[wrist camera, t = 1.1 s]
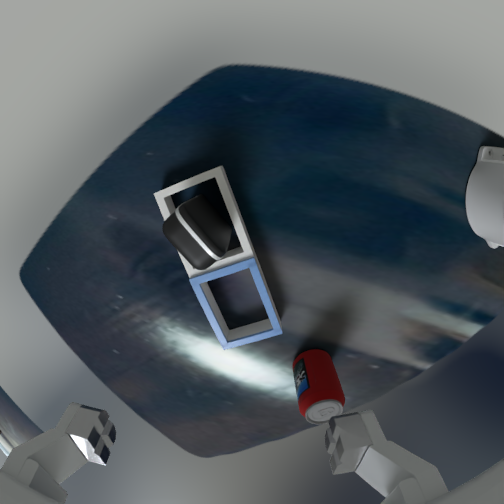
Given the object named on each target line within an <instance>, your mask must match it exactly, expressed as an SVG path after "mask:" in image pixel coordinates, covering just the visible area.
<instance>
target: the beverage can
mask: <svg viewBox="0 0 504 504" xmlns="http://www.w3.org/2000/svg"><path fill="white" fill-rule="evenodd" d="M293 374H294V380H295V387H296V393H297V399H298V404H299V410H300V413H301V414H302V415H303V416H304V417H305V418H306V419H307V421H308V422H310V423H312V424H326V423H329V420H330V418H331V417H332V416H338V415H341V414H342V411H343V406H344V403H345V397H344V394H343V390H342V387H341V384H340V381H339V379H338V376H337V373H336V370H335V367H334V364H333V362H332V359H331V357H330V355H329V354H328V353H327V352H325V351H323V350H319V349H312V350H308V351H305V352H303V353H301V354H300V355H299V356H298V357H297V358H296V359H295V360H294V362H293Z"/></svg>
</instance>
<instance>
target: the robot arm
mask: <svg viewBox="0 0 504 504" xmlns="http://www.w3.org/2000/svg"><path fill="white" fill-rule="evenodd" d="M466 211H467V216H468V220H469V223H470V225H471V227H472V229H473V231H474V232H475V233H476V234H477V235H478V236H480V237H482V238H484V239H485V240H486V241H487V243H488V245H489V246H490V247H491V248H497V247H498V246H499V245H500V246H503V247H504V148H500V147H490V146H481V147H480V149H479V153H478V159H477V163H476V165H475V167H474V169H473V170H472V173H471V175H470V177H469V181H468V184H467V190H466ZM108 418H109V415H108V413H107V411H105V410H101V409H96V408H93V407H89V406H85V405H81V404H78V403H74V402H72V403H71V404H69V406H68V407H67V409H66V411H65V413H64V414H63V416H62V418H61V419H60V421H59V423H58V424H57V426H56V428H55V429H50V430H48V431H46V432H44V433H42V434H41V435H39V436H37V437H35V438H33V439H31V440H29V441H27V442H25V443H23V444H21V445H19V446H17V447H15V448H13V449H12V451H11V453H10V454H9V456H8V458H7V460H6V462H5V463H4V465H3V467H2V468H1V469H0V504H64V503H65V501H66V498H67V495H68V494H67V492H66V491H65V490H64V489H63V488H62V487H61V486H60V485H59V484H60V483H61V482H63V481H64V480H65V479H67V478H68V477H69V476H70V475H72V474H73V473H74V472H75V471H77V470H78V469H79V468H80V467H81V466H83V465H84V464H85V463H87V461H91V462H95V463H99V464H102V465H106V464H107V461H108V458H109V456H110V451H109V447H111V446H112V445H114V442H115V439H116V430H115V426H114V424H113V423H112V422H111V421H109V420H108ZM329 425H330V428H329V429H327V431H326V435H325V444H326V449H327V452H328V453H330V454H331V455H332V456H331V459H330V465H331V469H332V472H333V475H335V474H341V473H347V472H352V471H356V473H357V474H358V475H359V476H360V477H362V478H363V479H364V480H365V481H366V482H367V483H369V484H370V485H371V486H372V487H373V488H375V489H376V490H377V491H379V492H380V493H381V494H382V495H383V496H385V497H386V499H385V500H384V501H383V502H382V503H381V504H504V459H502V460H501V461H499V462H498V463H496V464H495V465H493V466H492V467H491V468H489V469H487V470H486V471H484V472H483V473H481V474H480V475H478V476H476V477H475V478H473V479H471V480H470V481H468V482H466V483H465V484H463V485H461V486H459V487H457V488H455V489H454V490H452V491H450V492H448V489H447V487H446V485H445V483H444V481H443V480H442V477H441V475H440V474H439V471H438V469H437V467H435V466H434V465H432V464H430V463H428V462H426V461H425V460H423V459H421V458H419V457H418V456H416V455H414V454H412V453H410V452H409V451H407V450H405V449H404V448H402V447H400V446H398V445H397V444H395V443H393V442H392V441H387V440H386V438H385V436H384V434H383V432H382V430H381V427H380V426H379V423H378V421H377V419H376V417H375V415H374V412H373V411H372V410H367V411H362V412H355V413H349V414H344V415H338V416H332V417H331V418H330V420H329Z"/></svg>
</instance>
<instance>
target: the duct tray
mask: <svg viewBox="0 0 504 504" xmlns="http://www.w3.org/2000/svg"><path fill="white" fill-rule="evenodd" d="M214 177H215V178H216V181H217V183H218V186H219V189H220V191H221V194H222V196H223V199H224V202H225V204H226V207H227V209H228V212H229V215H230V217H231V220H232V223H233V225H234V228H235V230H236V233H237V236H238V238H239V241H240V243H241V247H238V248H235V249H232V250H230V251H227V252H226V254H225V255H224V256H223V258H221V259H220V260H217V261H216V262H215V263H214V264H213V265H211V266H210V267H209V268H207V269H206V270H197V269H195V268H194V267H193V266H192V265H191V264H190V263H189V262H188V261H187V260H186V259H185V258H184V257H183V256H182V255H181V254H180V252H179V251H178V250H177V251H178V253H179V255H180V257H181V260H182V262H183V264H184V266H185V269H186V271H187V273H188V275H189V277H190V279H189V281H190V283H191V285H192V287H193V289H194V291H195V293H196V295H197V298H198V300H199V302H200V304H201V306H202V308H203V310H204V312H205V314H206V316H207V318H208V320H209V322H210V324H211V326H212V328H213V330H214V332H215V334H216V336H217V338H218V340H219V342H220V344H221V346H222V348H223V349H224V350H225V349H229V348H233V347H237V346H240V345H244V344H248V343H251V342H255V341H259V340H262V339H265V338H269V337H272V336H276V335H279V334H282V326H281V320H280V318H279V315H278V312H277V310H276V307H275V304H274V302H273V299H272V296H271V294H270V291H269V288H268V285H267V283H266V280H265V277H264V275H263V272H262V269H261V267H260V264H259V261H258V259H257V256H256V253H255V251H254V248H253V245H252V243H251V240H250V237H249V235H248V232H247V229H246V227H245V224H244V221H243V219H242V216H241V213H240V211H239V208H238V205H237V203H236V200H235V197H234V195H233V192H232V189H231V187H230V184H229V181H228V179H227V176H226V173H225V171H224V168H223V166H219V167H217V168H214V169H212V170H209V171H206V172H204V173H201V174H199V175H196V176H194V177H192V178H189V179H187V180H184V181H182V182H180V183H177V184H175V185H172V186H170V187H168V188H166V189H163V190H161V191H159V192H157V193H154V195H155V198H156V200H157V203H158V205H159V208H160V210H161V213H162V215H163V218H164V220H166V219H167V218H168V217H169V216H170V215H171V214H172V213H173V212H174V211H175V210H176V208H175V206H174V203H173V201H172V198H171V196H170V195H172V194H174V193H176V192H179V191H181V190H184V189H186V188H188V187H191V186H193V185H196V184H198V183H201V182H203V181H206V180H208V179H211V178H214ZM247 268H250V271H251V273H252V276H253V278H254V281H255V284H256V286H257V289H258V291H259V294H260V296H261V299H262V301H263V304H264V307H265V309H266V312H267V314H268V317H269V319H265V320H262V321H259V322H255V323H252V324H249V325H245V326H242V327H238V328H235V329H231V330H229V329H228V326H227V324H226V322H225V320H224V318H223V316H222V314H221V312H220V310H219V307H218V305H217V303H216V301H215V299H214V297H213V294H212V292H211V290H210V288H209V286H208V283H207V281H210V280H213V279H216V278H219V277H222V276H225V275H228V274H232V273H235V272H238V271H241V270H244V269H247Z"/></svg>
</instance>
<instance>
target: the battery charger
mask: <svg viewBox="0 0 504 504" xmlns="http://www.w3.org/2000/svg"><path fill="white" fill-rule="evenodd" d="M231 232H232V228H231V227H230V226H229V224H228V223H227V222H226V221H225V220H224V219H223V217H222V216H221V215H220V214H219V213H218V212H217V210H216V209H215V208H214V207H213V206H212V205H211V204H210V202H209V201H208V200H207V199H206V198H205V197H204V196H203V195H202V194H199V195H198V196H196V197H195V198H192V199H189V200H187V201H186V202H184V203H182V204H181V205H180V206H178V207H177V208H176V210H175V211H174V212H173V213H172V214H171V215H170V216H169V217H168V218H167V219H166V220H165V222H164V224H163V233H164V235H165V236H166V238H167V239H168V240H169V241H170V242H171V243H172V245H173V246H174V247H175V248H176V249H177V250H178V251H179V252H180V254H181V255H182V256H183V257H184V258H185V259H186V260H187V261H188V262H189V263H190V264H191V265H192V266H193V267H194V268H195V269H197V270H206V269H207V268H209V267H210V266H211V265H213V264H214V263H215V262H216V261H217V260H220V259H221V258H223V256H224V255H225V254H226V252H227V249H228V246H229V242H230V236H231Z"/></svg>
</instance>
